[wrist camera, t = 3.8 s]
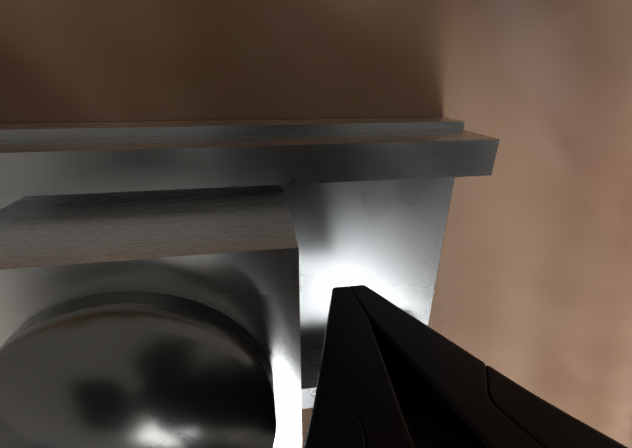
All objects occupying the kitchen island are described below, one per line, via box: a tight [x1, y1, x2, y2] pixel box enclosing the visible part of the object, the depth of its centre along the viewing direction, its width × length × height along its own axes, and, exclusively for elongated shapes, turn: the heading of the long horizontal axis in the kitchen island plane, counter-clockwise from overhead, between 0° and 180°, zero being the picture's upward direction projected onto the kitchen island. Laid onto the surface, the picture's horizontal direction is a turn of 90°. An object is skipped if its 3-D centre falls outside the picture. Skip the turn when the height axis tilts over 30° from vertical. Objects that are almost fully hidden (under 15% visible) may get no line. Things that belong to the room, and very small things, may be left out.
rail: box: [0, 117, 499, 409], centre depth 9 cm, size 14×8×3 cm, turn 90°
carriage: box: [0, 185, 302, 448], centre depth 7 cm, size 5×5×4 cm
